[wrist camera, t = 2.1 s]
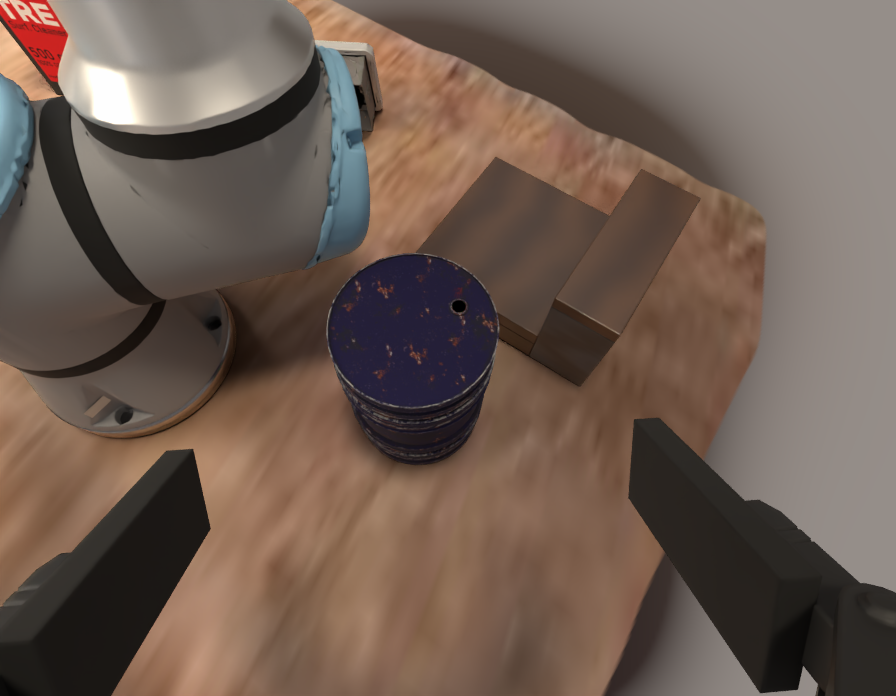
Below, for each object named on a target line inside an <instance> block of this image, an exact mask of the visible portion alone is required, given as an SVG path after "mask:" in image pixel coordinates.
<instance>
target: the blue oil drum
mask: <svg viewBox="0 0 896 696" xmlns="http://www.w3.org/2000/svg"><path fill="white" fill-rule="evenodd" d="M326 337H327V344H328V349H329V352H330V355H331V358H332V361H333V363H334V367H335V370H336V373H337V376H338V379H339V381H340V383H341V385H342V388H343V390H344V392H345V394H346V396H347V398H348V400H349V401H350V402H351V404H352V408H353V411H354V414H355V416H356V418H357V420H358V422H359V424H360V425H361V427H362V429H363V431H364V432H365V433H366V435H367V436H368V438H369V439H370V441H371V442H372V443H373V445H374V446H375V447H376V448H377V449H378V450H379V451H380V452H382V453H383V454H385V455H386V456H388V457H389V458H391V459H394V460H396V461H398V462H402V463H406V464H414V465H422V464H430V463H434V462H438V461H440V460H443V459H445V458H447V457H448V456H450V455H452V454H453V453H455V452H456V451H457V450H458V449H459V448H460V447H461V446H462V445H463V444H464V443H465V442H466V441H467V439H468V437H469V436H470V434H471V432H472V430H473V428H474V426H475V424H476V421H477V419H478V417H479V414H480V410H481V406H482V401H483V398H484V393H485V390H486V388H487V386H488V383H489V380H490V376H491V373H492V369H493V365H494V361H495V353H496V348H497V344H498V340H499V321H498V315H497V311H496V308H495V304H494V302H493V300H492V298H491V296H490V294H489V292H488V291H487V290H486V288H485V287H484V285H483V284H482V283H481V282H480V281H479V280H478V279H477V278H476V277H475V276H474V275H473V274H472V273H471V272H469V271H468V270H467V269H465V268H464V267H462V266H460V265H458V264H457V263H455V262H453V261H450V260H448V259H445V258H443V257H439V256H435V255H430V254H421V253H405V254H398V255H392V256H389V257H386V258H382V259H379V260H377V261H375V262H373V263H371V264H368V265H367V266H365V267H364V268H362V269H361V270H359V271H358V272H356V273H355V274H354V275H353V276H352V277H351V278H350V279H348V281H347V282H346V283H345V284H344V285H343V286H342V288H341V289H340V290H339V292H338V294H337V295H336V297H335V299H334V301H333V303H332V306H331V308H330V311H329V315H328V319H327V329H326Z"/></svg>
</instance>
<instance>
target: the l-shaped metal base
mask: <svg viewBox="0 0 896 696" xmlns="http://www.w3.org/2000/svg"><path fill="white" fill-rule="evenodd" d="M699 201H700V198H699V197H697V196H695V195H693V194H691V193H689V192H687V191H685V190H683V189H681V188H679V187H677V186H675V185H673V184H671V183H669V182H667V181H665V180H663V179H661V178H659V177H657V176H655V175H653V174H651V173H649V172H647V171H645V170H643V169H641V170H640V172H639V173H638V175H637V176H636V178H635V179H634V181H633V182H632V183H631V185H630V186H629V188H628V189H627V191H626V192H625V194H624V195H623V197H622V198H621V200H620V201H619V203H618V204H617V206H616V207H615V209H614V210H613V212H612V213H611V215H610V216H608V215H606V214H605V213H603V212H601V211H599V210H597V209H595V208H593V207H591V206H589V205H587V204H585V203H583V202H582V201H580V200H578V199H576V198H574V197H572V196H570V195H568V194H566V193H564V192H562V191H560V190H559V189H557V188H555V187H553V186H551V185H549V184H547V183H545V182H543V181H541V180H539V179H537V178H536V177H534V176H532V175H530V174H528V173H526V172H524V171H522V170H520V169H518V168H516V167H514V166H512V165H511V164H509V163H507V162H505V161H503V160H501V159H499V158H497V157H495V158H494V160H493V161H492V162H491V163H490V164H489V166H488V167H487V168H486V169H485V170H484V172H483V173H482V174H481V175H480V176H479V178H478V179H477V180H476V181H475V182H474V184H473V185H472V186H471V187H470V188H469V190H468V191H467V192H466V193H465V194H464V196H463V197H462V198H461V199H460V200H459V201H458V203H457V204H456V205H455V206H454V207H453V209H452V210H451V211H450V212H449V213H448V215H447V216H446V217H445V218H444V219H443V221H442V222H441V223H440V224H439V225H438V227H437V228H436V229H435V230H434V231H433V233H432V234H431V235H430V236H429V237H428V239H427V240H426V241H425V242H424V243H423V245H422V246H421V247H420V248H419V249H418V251H417V252H416V253H421V254H430V255H435V256H439V257H443V258H445V259H448V260H450V261H453V262H455V263H457V264H458V265H460V266H462V267H464V268H465V269H467V270H468V271H469V272H471V273H472V274H473V275H474V276H475V277H476V278H477V279H478V280H479V281H480V282H481V283H482V284H483V285H484V287H485V288H486V290H487V291H488V292H489V294H490V296H491V298H492V300H493V302H494V304H495V308H496V311H497V315H498V321H499V338H500V339H502V340H504V341H505V342H507V343H509V344H510V345H512V346H514V347H515V348H517V349H519V350H520V351H522V352H524V353H525V354H527V355H529V356H530V357H532V358H533V359H535V360H537V361H538V362H540V363H542V364H543V365H545V366H547V367H548V368H550V369H552V370H553V371H555V372H557V373H558V374H560V375H562V376H563V377H565V378H567V379H568V380H570V381H572V382H573V383H575V384H577V385H578V386H581V385H582V384H583V382H584V381H585V380H586V379H587V377H588V376H589V375H590V373H591V372H592V371H593V370H594V368H595V367H596V366H597V365H598V363H599V362H600V361H601V359H602V358H603V357H604V356H605V354H606V353H607V352H608V351H609V349H610V348H611V347H612V346H613V344H614V343H615V342H616V340H617V339H618V338H619V337H620V335H621V334H622V332H623V330H624V329H625V327H626V325H627V323H628V322H629V320H630V318H631V317H632V315H633V313H634V312H635V310H636V308H637V306H638V305H639V303H640V301H641V300H642V298H643V296H644V295H645V293H646V291H647V289H648V288H649V286H650V284H651V283H652V281H653V279H654V277H655V276H656V274H657V272H658V271H659V269H660V267H661V266H662V264H663V262H664V260H665V259H666V257H667V255H668V254H669V252H670V250H671V249H672V247H673V245H674V243H675V242H676V240H677V238H678V237H679V235H680V233H681V232H682V230H683V228H684V226H685V225H686V223H687V221H688V220H689V218H690V216H691V214H692V213H693V211H694V209H695V208H696V206H697V204H698V203H699Z"/></svg>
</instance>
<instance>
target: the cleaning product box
mask: <svg viewBox="0 0 896 696" xmlns="http://www.w3.org/2000/svg"><path fill="white" fill-rule="evenodd" d="M0 21H1V23H2V24H3V25H4V27H5V28H6V29H7V30H8V32H9V33H10V34H11V36H12V37H13V38H14V39H15V41H16V42H17V43H18V45H19V46H20V47H21V48H22V50H23V51H24V52H25V54H26V55H27V56H28V57H29V59H30V60H31V61H32V63H33V64H34V65H35V66H36V68H37V69H38V70H39V72H40V73H41V74H42V76H43V77H44V78H45V79H46V81H47V82H48V83H49V85H50V86H51V87H52V88H53V90H54V91H55V92H56V94H59V95H64V94H63V92H62V90H61V88H60V86H59V84H58V70H59V64H60V61H61V57H62V54H63V51H64V48H65V45H66V42H67V39H68V33H67V32H66V30H65V29H64V27H63V25H62V24H61V22H60V21H59V19H58V17H57V16H56V14H55V12H54V11H53V9H52V8H51V6H50V4H49V3H48V1H47V0H0Z"/></svg>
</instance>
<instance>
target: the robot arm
mask: <svg viewBox="0 0 896 696" xmlns="http://www.w3.org/2000/svg"><path fill="white" fill-rule="evenodd" d="M47 1H48V3H49V4H50V6H51V8H52V9H53V11H54V12H55V14H56V16H57V17H58V19H59V21H60V22H61V24H62V25H63V27H64V29H65V30H66V32H67V33H68V39H67V42H66V45H65V48H64V51H63V54H62V57H61V61H60V64H59V70H58V84H59V86H60V88H61V90H62V92H63V94H64V96H61V97H56V98H49V99H44V100H38V101H29V98H28V96H27V95H26V94H25V92H24V91H23V90H22V88H21V87H20V86H19V85H17V84H16V83H15V82H14V81H13V80H10V79H8V78H6V77H4V76H3V75H2V74H1V73H0V361H2V362H4V363H7V364H9V365H11V366H13V367H15V368H17V369H19V370H20V371H21V373H22V374H23V375H24V377H25V378H26V379H27V381H28V382H29V383H30V385H31V386H32V387H33V389H34V390H35V391H36V393H37V394H38V395H39V397H40V398H41V399H42V401H43V402H44V403H45V404H46V406H47V407H48V408H49V409H50V410H51V411H52V412H53V413H54V414H55V415H56V416H58V417H59V418H60V419H62V420H63V421H65V422H67V423H69V424H71V425H73V426H76V427H78V428H80V429H83V430H85V431H88V432H90V433H93V434H96V435H100V436H105V437H113V438H131V437H138V436H144V435H148V434H152V433H155V432H158V431H161V430H164V429H166V428H169V427H171V426H173V425H175V424H177V423H179V422H180V421H182V420H184V419H185V418H187V417H188V416H190V415H191V414H193V413H194V412H195V411H197V410H198V409H199V408H200V407H201V406H202V405H204V404H205V402H206V401H207V400H208V399H209V398H210V397H211V396H212V395H213V394H214V393H215V391H216V390H217V389H218V387H219V386H220V385H221V383H222V382H223V380H224V378H225V376H226V375H227V372H228V370H229V368H230V366H231V363H232V360H233V357H234V352H235V347H236V326H235V322H234V318H233V315H232V312H231V310H230V308H229V306H228V304H227V303H226V301H225V300H224V298H223V297H222V296H221V294H220V293H219V292H218V290H217V289H218V288H222V287H226V286H231V285H235V284H239V283H244V282H248V281H252V280H257V279H261V278H266V277H270V276H274V275H279V274H283V273H287V272H292V271H296V270H300V269H302V270H304V269H309V268H312V267H314V266H315V265H316V264H317V263H320V262H323V261H327V260H330V259H333V258H336V257H339V256H342V255H346V254H348V253H351V252H352V251H354V250H355V249H357V248H358V247H359V246H360V245H361V243H362V242H363V240H364V238H365V236H366V233H367V230H368V226H369V217H370V189H369V175H368V165H367V157H366V150H365V147H364V145H363V142H362V128H361V116H360V111H359V106H358V102H357V97H356V93H355V89H354V85H353V81H352V78H351V75H350V72H349V70H348V67H347V65H346V62H345V60H344V58H343V57H342V55H341V54H340V53H339V52H338V51H337V50H335V49H333V48H325V47H324V46H322V45H321V46H319V47H318V45H315V41H314V37H313V33H312V29H311V26H310V24H309V22H308V20H307V19H306V17H305V16H304V15H303V13H302V12H301V11H300V10H299V9H297V8H296V7H295V6H293V5H292V4H291V3H289V2H288V1H286V0H47ZM628 498H629V499H630V501H631V502H632V504H633V505H634V507H635V508H636V510H637V511H638V513H639V514H640V516H641V517H642V519H643V520H644V522H645V523H646V525H647V526H648V528H649V529H650V531H651V532H652V534H653V535H654V537H655V538H656V539H657V541H658V542H659V544H660V545H661V547H662V548H663V550H664V551H665V553H666V554H667V556H668V557H669V558H670V560H671V562H672V563H673V565H674V566H675V568H676V569H677V571H678V572H679V573H680V575H681V577H682V578H683V580H684V581H685V582H686V584H687V585H688V587H689V588H690V590H691V591H692V593H693V594H694V596H695V597H696V599H697V600H698V602H699V603H700V605H701V606H702V608H703V609H704V611H705V612H706V614H707V615H708V617H709V618H710V620H711V621H712V623H713V624H714V625H715V627H716V628H717V630H718V631H719V633H720V634H721V636H722V637H723V639H724V640H725V642H726V643H727V645H728V646H729V648H730V649H731V651H732V652H733V654H734V655H735V657H736V658H737V660H738V661H739V662H740V664H741V666H742V667H743V668H744V670H745V671H746V673H747V674H748V676H749V677H750V679H751V680H752V682H753V683H754V685H755V686H756V688H757V689H758V691H759V692H760V693H767V692H778V691H789V690H798V686H799V682H800V677H801V673H802V668H803V666H804V667H805V668H806V670H807V671H808V672H809V674H810V675H811V676H812V677H813V679H814V680H815V681H816V682H817V683H818V687H817V691H816V696H896V593H895V592H893V591H890V590H888V589H885V588H883V587H879V586H875V585H871V584H866V583H859V582H858V581H857V580H856V579H855V578H854V577H853V576H852V575H851V574H849V573H848V572H847V571H846V570H845V569H844V568H843V567H842V566H841V565H839V564H838V563H837V562H836V561H835V560H834V559H833V558H832V557H830V556H829V555H828V554H827V553H826V552H825V551H824V550H823V549H821V547H819V546H818V545H817V544H816V543H815V542H811V540H810V539H811V538H809V537H808V536H807V535H806V534H805V533H804V532H803V531H802V530H800V529H798V528H797V526H796V525H795V524H794V523H793V522H792V521H790V520H789V519H788V518H787V517H786V516H785V515H784V514H783V513H782V512H780V511H779V510H776V509H775V508H773V507H771V506H769V505H767V504H766V503H764V502H761V501H760V500H751V501H744V499H742V498H741V497H740V496H739V495H738V494H737V493H736V492H735V491H734V490H733V489H732V488H731V487H730V486H729V485H728V484H727V483H726V482H725V481H724V480H723V479H722V478H721V477H720V476H719V475H718V474H717V473H716V472H714V471H713V470H712V469H711V468H710V467H709V466H708V465H707V464H706V463H705V462H704V461H703V460H702V459H701V458H700V457H699V456H698V455H697V454H696V453H695V452H694V451H693V450H692V449H691V448H690V447H689V446H688V445H687V444H686V443H685V442H683V441H682V440H681V439H680V438H679V437H678V436H677V435H676V434H675V433H674V432H673V431H672V430H671V429H670V428H669V427H668V426H667V425H666V424H665V423H664V422H663V421H662V420H661V419H660V418H648V419H634V428H633V441H632V455H631V469H630V483H629V497H628ZM210 529H211V528H210V524H209V519H208V514H207V510H206V505H205V501H204V496H203V492H202V487H201V483H200V478H199V473H198V469H197V464H196V460H195V455H194V451H193V449H186V450H172V451H166V452H165V453H164V454H163V455H162V456H161V457H160V458H159V459H158V460H157V461H156V463H155V464H154V465H153V466H152V467H151V468H150V469H149V470H148V471H147V472H146V473H145V474H144V475H143V476H142V477H141V479H140V480H139V481H138V482H137V483H136V484H135V485H134V486H133V487H132V488H131V489H130V490H129V491H128V492H127V493H126V495H125V496H124V497H123V498H122V499H121V500H120V501H119V502H118V503H117V504H116V505H115V506H114V507H113V508H112V510H111V511H110V512H109V513H108V514H107V515H106V516H105V517H104V518H103V519H102V520H101V521H100V522H99V523H98V524H97V526H96V527H95V528H94V529H93V530H92V531H91V532H90V533H89V534H88V535H87V536H86V537H85V538H84V539H83V540H82V542H81V543H80V544H79V545H78V546H77V547H76V548H75V549H74V550H73V551H72V552H71V553H61V554H59V555H58V556H56V557H55V558H53V559H52V560H50V561H49V562H47V563H46V564H44V565H43V566H41V567H40V568H38V569H37V570H36V571H35V572H34V573H33V574H32V575H31V576H30V577H29V578H28V579H27V580H26V581H25V582H24V583H23V584H22V585H21V586H20V587H19V588H18V591H17V592H14V593H13V594H12V595H11V596H10V597H9V598H8V599H7V600H6V601H5V602H4V605H3V607H0V696H111V695H112V693H113V691H114V690H115V688H116V686H117V685H118V683H119V681H120V680H121V678H122V676H123V675H124V673H125V671H126V670H127V668H128V666H129V665H130V663H131V661H132V659H133V658H134V656H135V654H136V653H137V651H138V649H139V648H140V646H141V644H142V643H143V641H144V639H145V638H146V636H147V634H148V633H149V631H150V629H151V628H152V626H153V624H154V623H155V621H156V619H157V618H158V616H159V614H160V613H161V611H162V609H163V608H164V606H165V604H166V603H167V601H168V599H169V598H170V596H171V594H172V592H173V591H174V589H175V587H176V586H177V584H178V582H179V581H180V579H181V577H182V576H183V574H184V572H185V571H186V569H187V567H188V566H189V564H190V562H191V561H192V559H193V557H194V556H195V554H196V552H197V551H198V549H199V547H200V546H201V544H202V542H203V541H204V539H205V537H206V536H207V534H208V532H209V531H210Z"/></svg>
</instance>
